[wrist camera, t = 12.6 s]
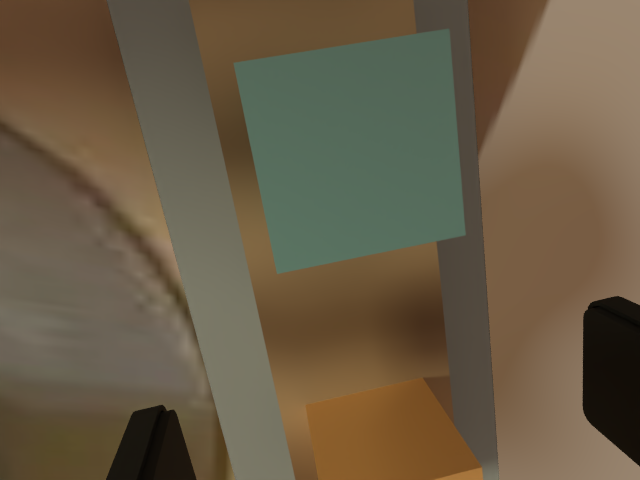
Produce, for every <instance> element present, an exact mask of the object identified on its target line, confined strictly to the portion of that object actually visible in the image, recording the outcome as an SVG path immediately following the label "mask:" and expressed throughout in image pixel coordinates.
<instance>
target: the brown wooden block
mask: <svg viewBox="0 0 640 480" xmlns="http://www.w3.org/2000/svg"><path fill="white" fill-rule="evenodd" d="M189 5H190V9H191V14H192V18H193V23H194V27H195V32H196V36H197V41H198V45H199V49H200V54H201V58H202V63H203V67H204V72H205V76H206V81H207V85H208V90H209V94H210V99H211V103H212V108H213V112H214V117H215V121H216V126H217V130H218V135H219V139H220V144H221V148H222V153H223V157H224V162H225V166H226V171H227V175H228V180H229V184H230V189H231V193H232V198H233V202H234V207H235V211H236V215H237V220H238V224H239V229H240V233H241V238H242V242H243V247H244V251H245V256H246V260H247V265H248V269H249V274H250V278H251V283H252V287H253V292H254V296H255V301H256V305H257V310H258V314H259V319H260V323H261V328H262V332H263V337H264V341H265V346H266V350H267V355H268V359H269V364H270V368H271V373H272V377H273V382H274V386H275V390H276V395H277V399H278V404H279V408H280V413H281V417H282V422H283V426H284V431H285V435H286V440H287V444H288V449H289V453H290V458H291V462H292V467H293V471H294V476H295V480H318V475H317V469H316V464H315V458H314V452H313V446H312V441H311V435H310V429H309V423H308V417H307V412H306V406H305V405H307V404H311V403H315V402H320V401H324V400H328V399H333V398H337V397H341V396H345V395H350V394H354V393H358V392H363V391H367V390H371V389H375V388H380V387H384V386H388V385H393V384H397V383H401V382H405V381H410V380H414V379H418V378H423V379H424V381H425V382H426V384H427V385H428V387H429V388H430V390H431V391H432V393H433V394H434V396H435V397H436V399H437V400H438V402H439V403H440V405H441V406H442V408H443V409H444V411H445V412H446V414H447V415H448V417H449V418H450V420H451V421H452V423H453V424H454V416H453V406H452V395H451V385H450V374H449V364H448V354H447V343H446V333H445V323H444V312H443V302H442V292H441V281H440V271H439V261H438V250H437V241H435V242H431V243H426V244H421V245H416V246H411V247H406V248H401V249H396V250H392V251H387V252H382V253H377V254H372V255H367V256H362V257H358V258H353V259H348V260H343V261H338V262H333V263H328V264H323V265H319V266H314V267H309V268H304V269H299V270H294V271H289V272H285V273H280V274H277V272H276V267H275V262H274V257H273V252H272V247H271V243H270V238H269V233H268V228H267V223H266V218H265V214H264V209H263V204H262V199H261V194H260V189H259V184H258V180H257V175H256V170H255V165H254V160H253V155H252V151H251V146H250V141H249V136H248V131H247V126H246V121H245V117H244V112H243V107H242V102H241V97H240V92H239V88H238V83H237V78H236V73H235V68H234V63H236V62H242V61H248V60H254V59H261V58H267V57H273V56H280V55H286V54H292V53H298V52H305V51H311V50H317V49H324V48H330V47H336V46H343V45H349V44H355V43H361V42H368V41H374V40H380V39H387V38H393V37H399V36H405V35H412V34H417V33H416V22H415V12H414V2H413V0H189Z"/></svg>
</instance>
